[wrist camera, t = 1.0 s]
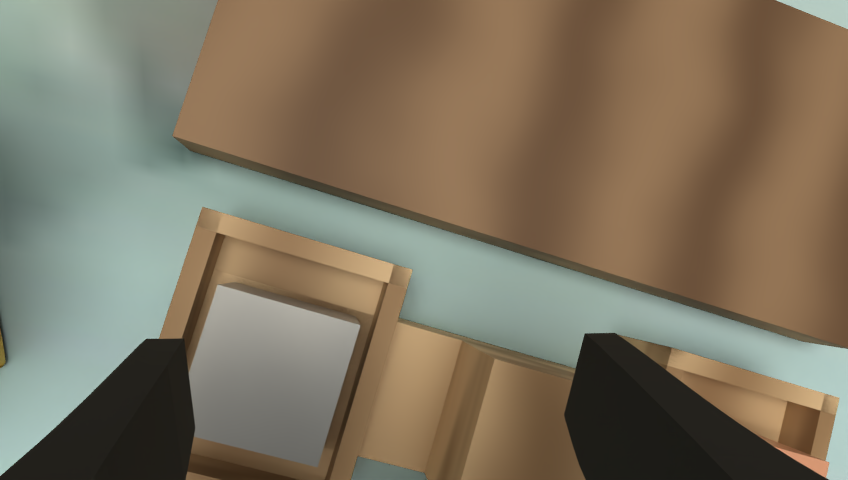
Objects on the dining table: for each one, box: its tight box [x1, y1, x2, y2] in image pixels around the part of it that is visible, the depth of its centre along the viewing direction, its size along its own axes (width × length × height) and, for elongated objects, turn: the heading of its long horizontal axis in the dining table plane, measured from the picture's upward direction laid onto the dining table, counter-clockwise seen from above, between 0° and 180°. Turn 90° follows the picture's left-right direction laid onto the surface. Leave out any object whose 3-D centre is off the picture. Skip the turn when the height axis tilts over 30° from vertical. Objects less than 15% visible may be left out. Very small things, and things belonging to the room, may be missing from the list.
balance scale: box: [159, 207, 839, 480], centre depth 20 cm, size 22×8×7 cm, turn 74°
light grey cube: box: [189, 282, 360, 467], centre depth 18 cm, size 4×4×3 cm
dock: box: [172, 0, 848, 349], centre depth 23 cm, size 26×12×2 cm, turn 74°
